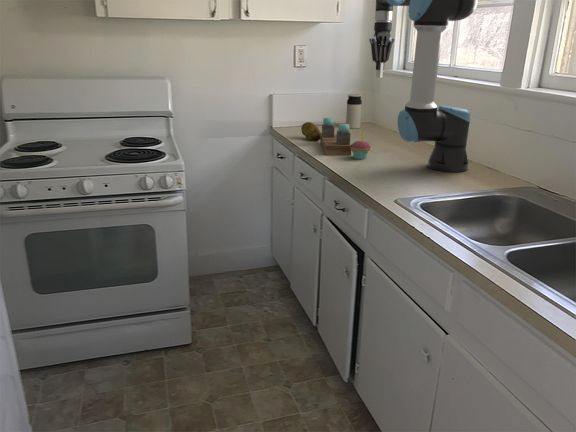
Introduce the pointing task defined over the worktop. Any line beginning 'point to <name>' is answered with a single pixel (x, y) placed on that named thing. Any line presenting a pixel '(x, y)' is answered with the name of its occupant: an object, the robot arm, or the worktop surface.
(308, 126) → the potato
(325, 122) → the knob far
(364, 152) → the cupcake
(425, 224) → the worktop surface
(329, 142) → the mount
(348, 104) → the travel mug
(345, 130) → the knob near
